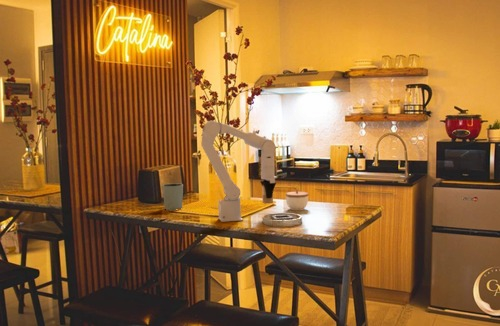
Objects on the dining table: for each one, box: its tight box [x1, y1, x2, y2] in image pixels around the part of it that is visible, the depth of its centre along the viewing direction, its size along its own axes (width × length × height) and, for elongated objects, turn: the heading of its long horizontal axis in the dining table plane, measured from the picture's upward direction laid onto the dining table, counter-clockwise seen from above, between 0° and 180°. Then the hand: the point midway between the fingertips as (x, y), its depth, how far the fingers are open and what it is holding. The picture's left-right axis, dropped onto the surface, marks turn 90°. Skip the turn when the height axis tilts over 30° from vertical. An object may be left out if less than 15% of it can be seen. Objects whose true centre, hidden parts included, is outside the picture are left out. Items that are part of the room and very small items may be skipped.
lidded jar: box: [285, 189, 309, 212], centre depth 243 cm, size 11×11×9 cm
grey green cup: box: [161, 182, 184, 211], centre depth 250 cm, size 10×10×12 cm
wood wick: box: [261, 185, 274, 205], centre depth 224 cm, size 4×2×8 cm, turn 104°
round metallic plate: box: [261, 212, 303, 228], centre depth 215 cm, size 16×16×2 cm
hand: (268, 197), depth 224 cm, fingers closed on wood wick, 2 cm apart
